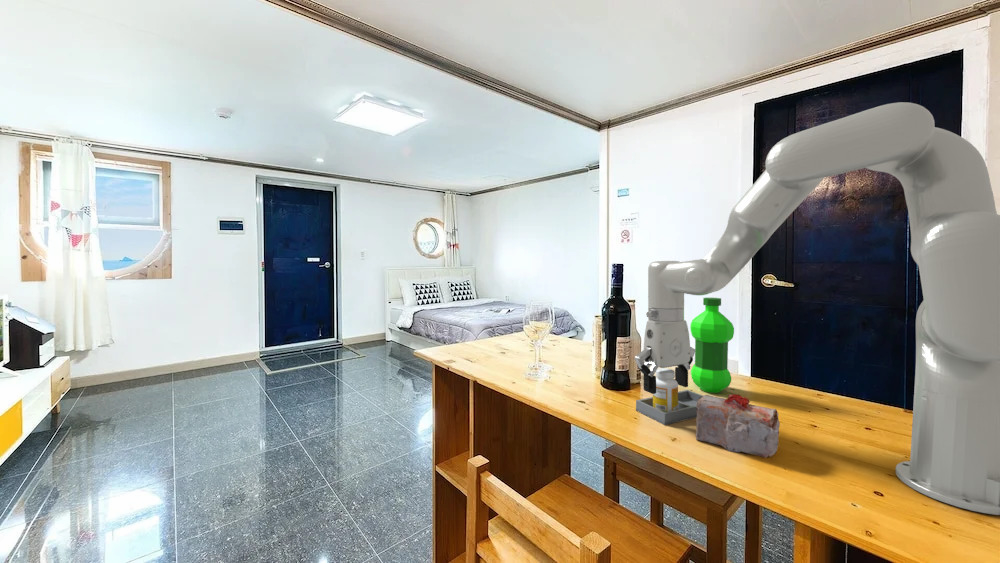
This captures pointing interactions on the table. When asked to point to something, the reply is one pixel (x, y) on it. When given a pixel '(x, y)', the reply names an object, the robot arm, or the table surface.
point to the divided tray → (684, 412)
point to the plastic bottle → (711, 347)
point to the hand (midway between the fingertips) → (665, 388)
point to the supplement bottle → (666, 390)
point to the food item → (737, 425)
